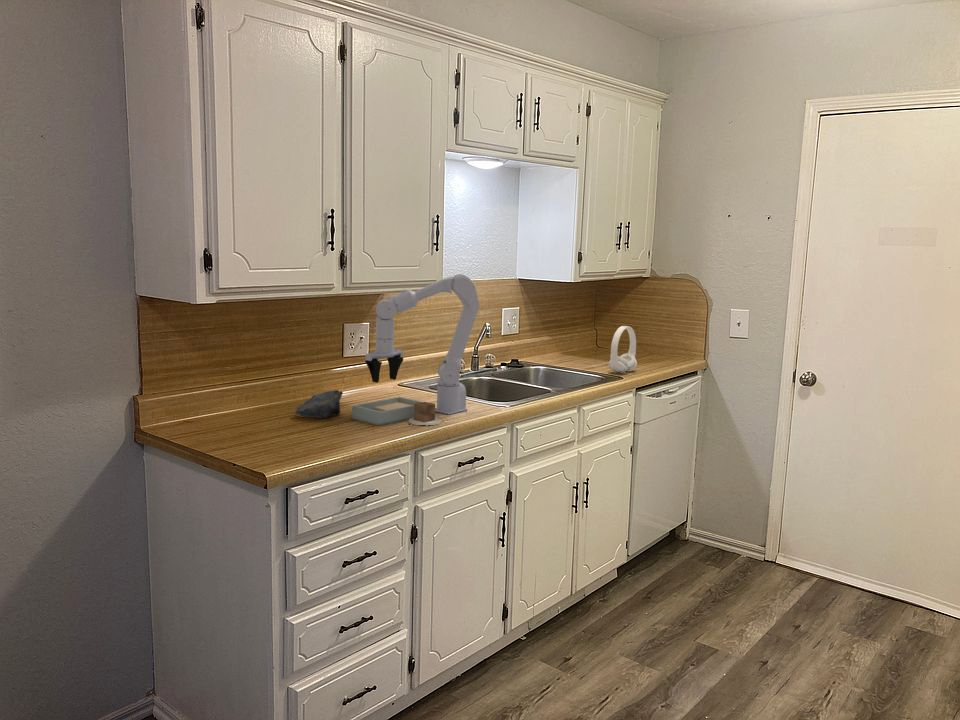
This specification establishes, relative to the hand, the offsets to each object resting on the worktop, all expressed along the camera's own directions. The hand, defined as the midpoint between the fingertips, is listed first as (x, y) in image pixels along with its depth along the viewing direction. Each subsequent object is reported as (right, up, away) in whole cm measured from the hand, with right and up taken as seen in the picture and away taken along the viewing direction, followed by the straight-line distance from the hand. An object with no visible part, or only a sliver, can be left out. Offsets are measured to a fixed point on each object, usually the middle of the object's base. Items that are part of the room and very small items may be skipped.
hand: (384, 380), depth 247 cm
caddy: (+3, -11, -6) cm, 13 cm away
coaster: (+14, -12, -11) cm, 21 cm away
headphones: (+92, +1, +88) cm, 127 cm away
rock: (-18, -11, -9) cm, 23 cm away
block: (+14, -12, -11) cm, 21 cm away
